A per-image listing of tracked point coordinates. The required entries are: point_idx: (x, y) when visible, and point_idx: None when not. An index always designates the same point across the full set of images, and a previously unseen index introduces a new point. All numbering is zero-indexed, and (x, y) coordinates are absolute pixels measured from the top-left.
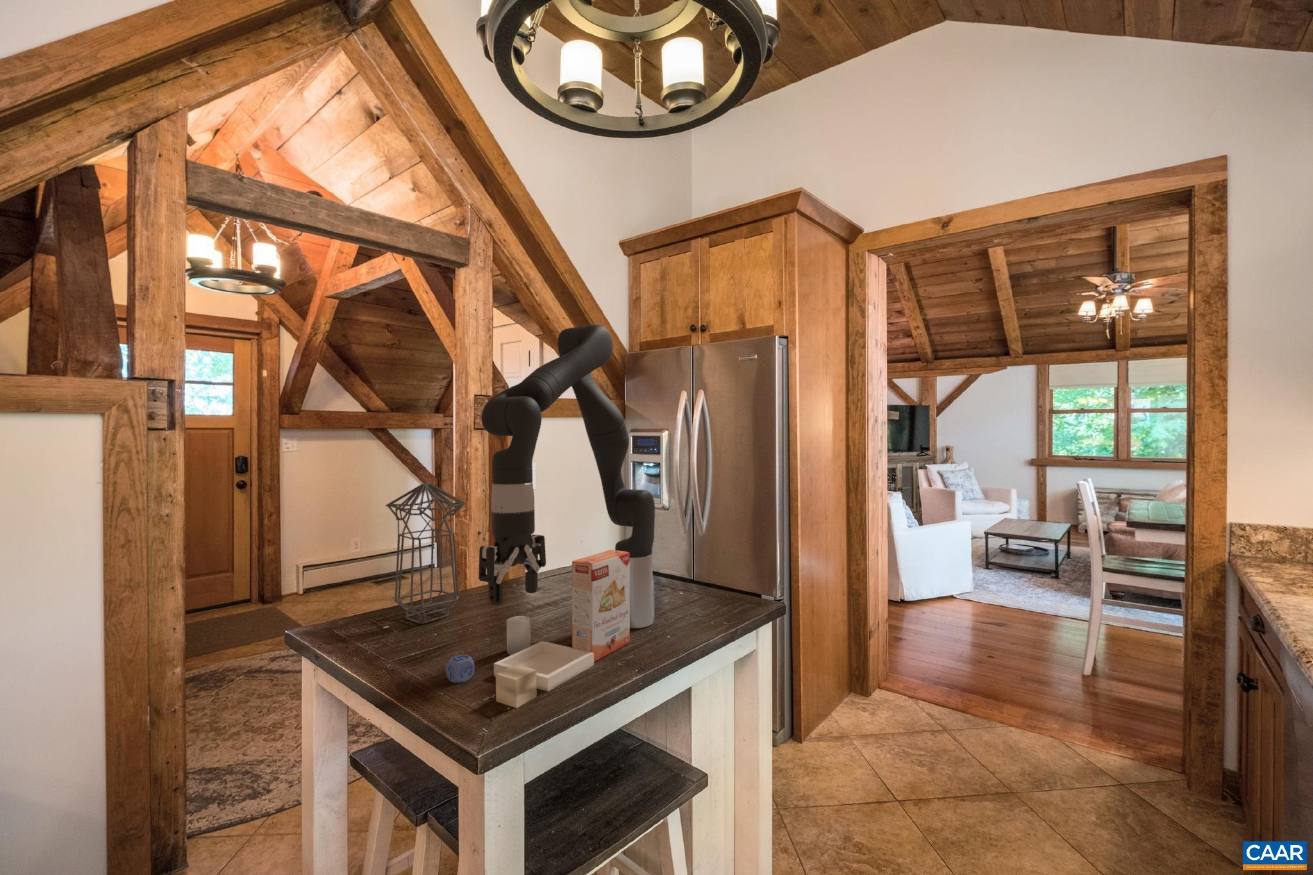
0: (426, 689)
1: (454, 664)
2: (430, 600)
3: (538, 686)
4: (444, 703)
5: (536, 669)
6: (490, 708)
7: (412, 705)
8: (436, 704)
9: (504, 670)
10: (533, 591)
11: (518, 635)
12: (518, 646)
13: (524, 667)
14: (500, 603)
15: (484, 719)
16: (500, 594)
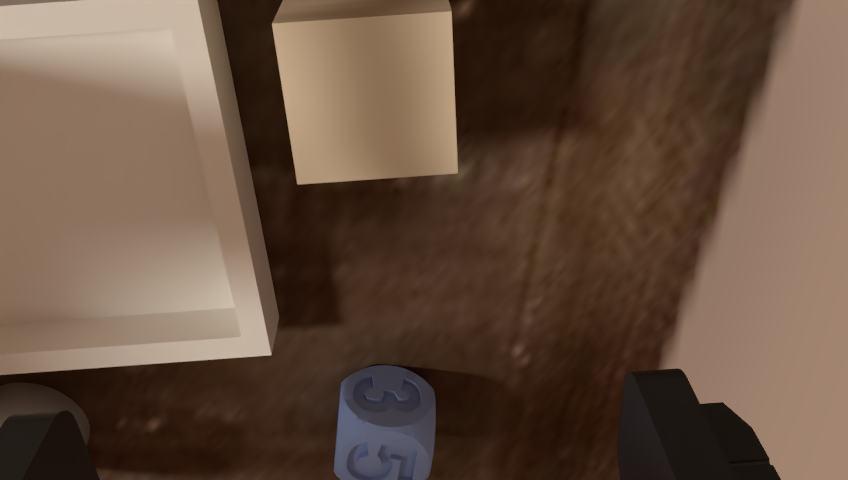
0: (526, 415)
1: (430, 441)
2: None
3: (223, 48)
4: (578, 275)
5: (103, 206)
6: (513, 80)
7: (648, 351)
8: (600, 291)
9: (395, 172)
10: (59, 424)
11: None
12: None
13: (296, 110)
14: (666, 371)
15: (607, 15)
16: (704, 456)
